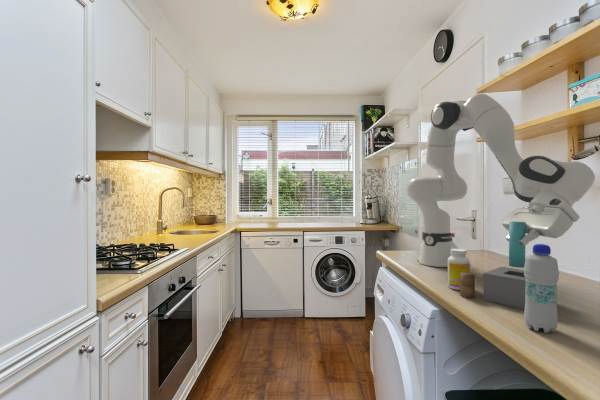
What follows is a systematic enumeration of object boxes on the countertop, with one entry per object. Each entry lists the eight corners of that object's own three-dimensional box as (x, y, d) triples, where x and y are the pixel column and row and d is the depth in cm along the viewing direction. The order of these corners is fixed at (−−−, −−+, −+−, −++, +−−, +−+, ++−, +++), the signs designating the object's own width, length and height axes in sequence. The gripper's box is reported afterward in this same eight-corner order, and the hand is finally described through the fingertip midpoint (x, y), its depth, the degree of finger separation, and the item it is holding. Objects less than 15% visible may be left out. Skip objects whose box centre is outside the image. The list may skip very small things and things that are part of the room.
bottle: (563, 330, 76) (564, 244, 75) (552, 337, 72) (553, 247, 71) (529, 321, 81) (530, 241, 80) (518, 327, 77) (518, 243, 77)
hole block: (501, 291, 105) (501, 266, 105) (550, 301, 95) (550, 274, 95) (483, 299, 97) (483, 273, 97) (534, 312, 87) (535, 282, 87)
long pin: (512, 264, 98) (512, 221, 98) (527, 266, 95) (527, 222, 95) (506, 265, 96) (506, 222, 96) (522, 268, 93) (522, 222, 93)
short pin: (463, 293, 103) (464, 271, 103) (477, 296, 100) (477, 273, 100) (457, 295, 101) (457, 273, 101) (470, 299, 98) (471, 276, 97)
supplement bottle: (472, 291, 105) (472, 251, 105) (450, 290, 106) (450, 251, 106) (466, 285, 112) (466, 248, 111) (445, 284, 113) (445, 247, 113)
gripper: (515, 200, 106) (485, 230, 106) (569, 201, 86) (533, 239, 85) (528, 213, 106) (499, 243, 106) (586, 218, 86) (550, 255, 86)
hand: (514, 241), depth 96 cm, fingers closed on long pin, 4 cm apart
